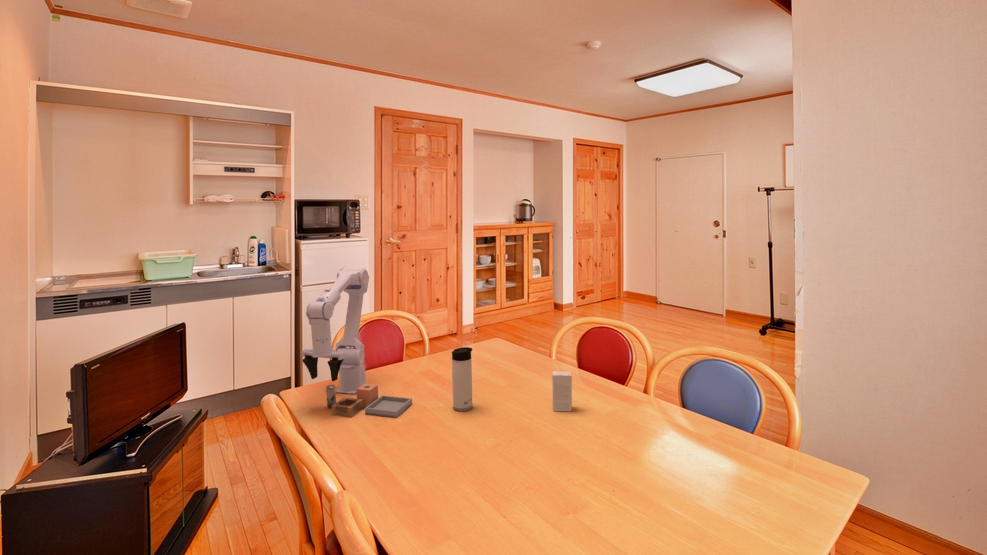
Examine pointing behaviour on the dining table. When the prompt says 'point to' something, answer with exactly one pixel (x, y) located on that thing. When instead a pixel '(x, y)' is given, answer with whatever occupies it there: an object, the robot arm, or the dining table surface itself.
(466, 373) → the travel mug
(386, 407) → the tray
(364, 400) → the block
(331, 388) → the cylinder
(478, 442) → the dining table surface
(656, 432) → the dining table surface
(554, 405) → the skincare box
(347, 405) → the brown square frame
